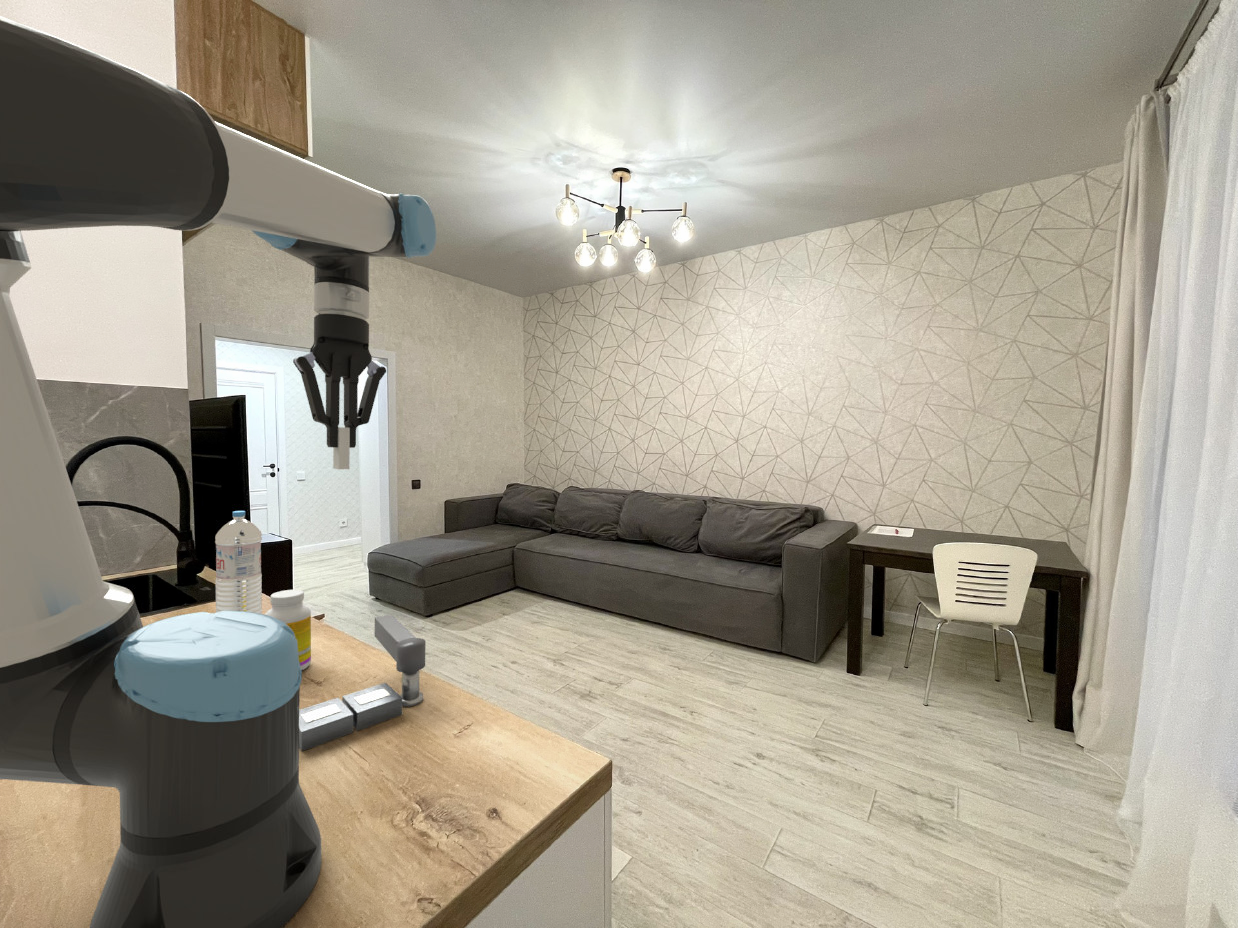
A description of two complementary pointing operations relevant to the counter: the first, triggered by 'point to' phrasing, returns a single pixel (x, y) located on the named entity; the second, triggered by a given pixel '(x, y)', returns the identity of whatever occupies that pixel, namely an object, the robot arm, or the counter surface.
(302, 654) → the supplement bottle
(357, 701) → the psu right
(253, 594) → the water bottle
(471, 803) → the counter surface
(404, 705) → the pivot post
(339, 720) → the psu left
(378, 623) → the cable arm
